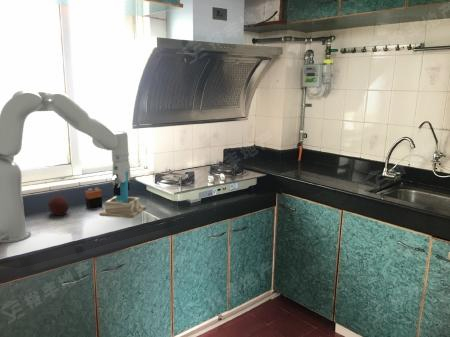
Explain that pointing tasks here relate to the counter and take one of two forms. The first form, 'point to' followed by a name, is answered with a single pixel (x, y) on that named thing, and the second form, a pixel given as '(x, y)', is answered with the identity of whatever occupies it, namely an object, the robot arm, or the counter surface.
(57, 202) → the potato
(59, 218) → the counter surface
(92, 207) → the battery
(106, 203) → the socket block
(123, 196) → the tube
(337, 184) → the counter surface
